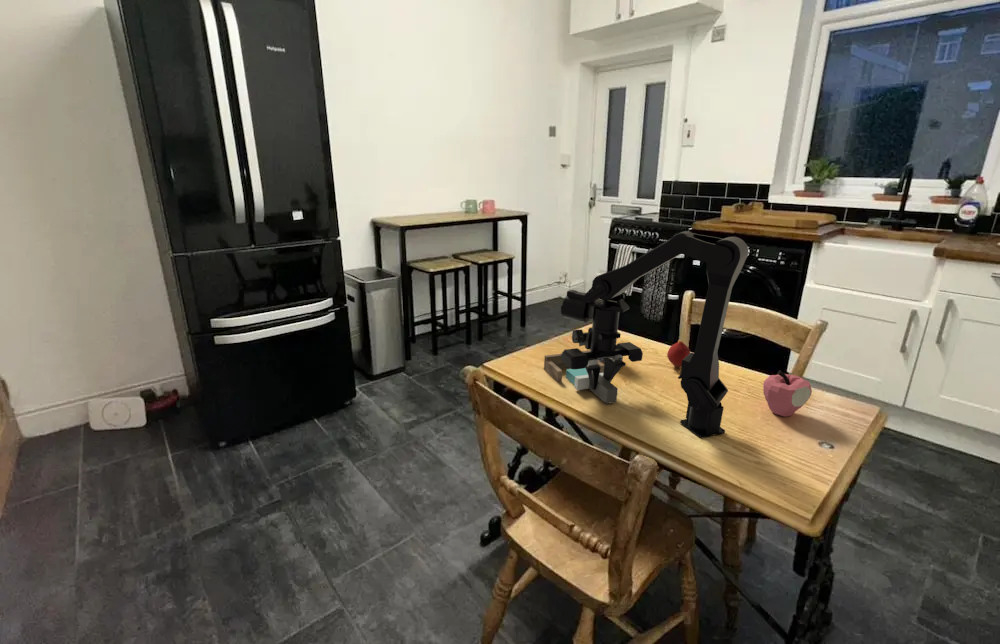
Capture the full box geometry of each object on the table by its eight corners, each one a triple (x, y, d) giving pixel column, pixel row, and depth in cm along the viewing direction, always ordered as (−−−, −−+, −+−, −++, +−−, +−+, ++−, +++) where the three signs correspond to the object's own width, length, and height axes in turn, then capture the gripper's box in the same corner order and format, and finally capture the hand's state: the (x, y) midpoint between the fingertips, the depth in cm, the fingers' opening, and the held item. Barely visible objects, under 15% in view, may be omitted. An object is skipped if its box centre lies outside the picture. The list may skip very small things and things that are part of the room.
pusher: (628, 400, 111) (629, 386, 110) (593, 405, 108) (595, 391, 107) (606, 383, 119) (607, 370, 118) (574, 387, 116) (575, 374, 115)
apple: (776, 424, 103) (786, 382, 99) (749, 405, 111) (757, 365, 107) (814, 420, 104) (825, 379, 101) (785, 402, 112) (794, 363, 109)
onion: (685, 363, 133) (689, 336, 131) (690, 372, 128) (695, 344, 125) (663, 362, 134) (667, 335, 131) (668, 371, 128) (672, 343, 126)
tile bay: (603, 375, 124) (605, 361, 123) (557, 382, 120) (558, 367, 119) (588, 363, 132) (589, 350, 130) (543, 369, 128) (544, 355, 126)
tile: (603, 386, 119) (604, 377, 118) (578, 390, 117) (579, 380, 116) (589, 375, 125) (590, 366, 125) (565, 378, 123) (566, 369, 122)
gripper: (620, 313, 119) (614, 370, 124) (552, 319, 113) (549, 379, 118) (647, 327, 109) (639, 388, 114) (574, 334, 103) (569, 399, 108)
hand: (599, 388), depth 114 cm, fingers closed on pusher, 3 cm apart
